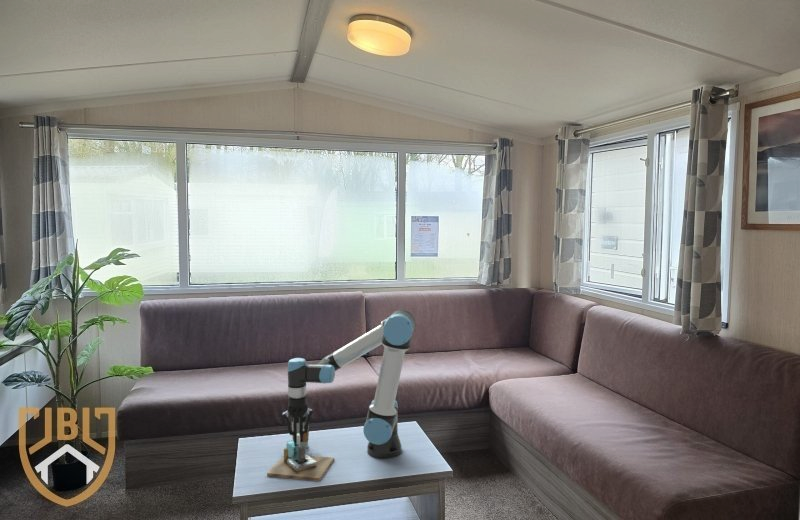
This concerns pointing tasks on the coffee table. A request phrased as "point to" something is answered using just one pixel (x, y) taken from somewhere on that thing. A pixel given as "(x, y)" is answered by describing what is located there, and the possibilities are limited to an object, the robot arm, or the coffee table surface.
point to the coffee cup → (305, 435)
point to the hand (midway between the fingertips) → (298, 449)
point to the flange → (294, 458)
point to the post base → (307, 474)
